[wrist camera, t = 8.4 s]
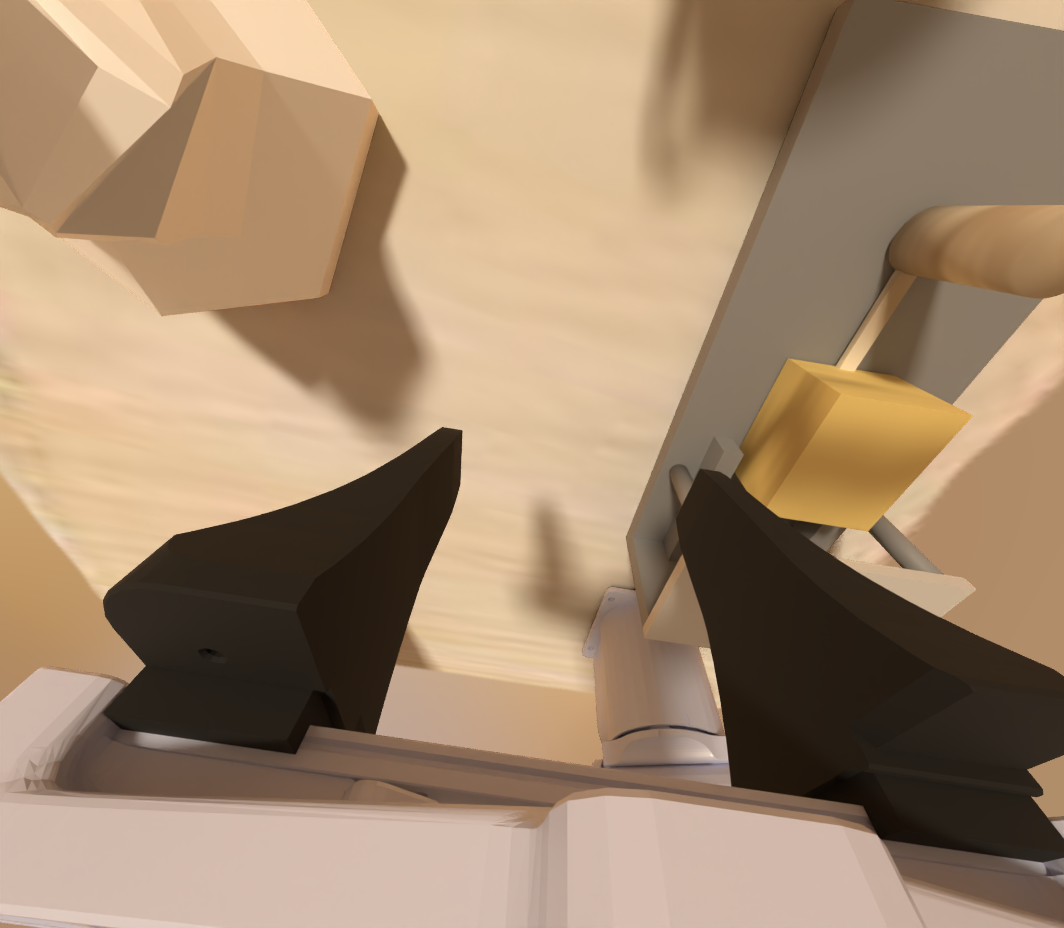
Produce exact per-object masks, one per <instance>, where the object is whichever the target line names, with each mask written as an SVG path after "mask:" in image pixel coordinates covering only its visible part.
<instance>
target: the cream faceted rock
mask: <svg viewBox="0 0 1064 928" xmlns="http://www.w3.org/2000/svg"><path fill="white" fill-rule="evenodd" d="M378 115H379V112H378V110H377V108H376V106H375V105H374V103H373V101H372V99H371V98H370V96H369V95H368V93H367V92H366V90H365V89H364V87H363V86H362V84H361V82H360V81H359V79H358V78H357V76H356V75H355V73H354V72H353V70H352V69H351V67H350V66H349V64H348V63H347V61H346V60H345V58H344V57H343V55H342V54H341V52H340V51H339V49H338V48H337V46H336V45H335V43H334V42H333V40H332V39H331V37H330V36H329V34H328V33H327V31H326V30H325V28H324V27H323V25H322V24H321V22H320V20H319V19H318V17H317V16H316V14H315V13H314V11H313V10H312V8H311V7H310V5H309V4H308V2H307V1H306V0H0V207H2V208H5V209H8V210H11V211H14V212H17V213H20V214H23V215H26V216H28V217H30V218H31V219H33V220H34V221H35V222H37V223H38V224H39V225H41V226H42V227H43V228H45V229H46V230H47V231H48V232H50V233H51V234H52V235H54V236H55V237H57V238H61V239H63V240H64V241H65V242H67V243H68V244H69V245H70V246H72V247H73V248H74V249H76V250H77V251H78V252H79V253H81V254H82V255H83V256H85V257H86V258H87V259H88V260H90V261H91V262H92V263H94V264H95V265H96V266H98V267H99V268H100V269H101V270H103V271H104V272H105V273H107V274H108V275H109V276H110V277H112V278H113V279H114V280H116V281H117V282H118V283H119V284H121V285H122V286H123V287H125V288H126V289H127V290H129V291H130V292H131V293H132V294H134V295H135V296H136V297H138V298H139V299H140V300H141V301H143V302H144V303H145V304H147V305H148V306H149V307H150V308H152V309H153V310H154V311H156V312H157V313H158V314H159V315H161V316H167V315H175V314H184V313H193V312H201V311H210V310H219V309H227V308H236V307H244V306H253V305H262V304H270V303H279V302H288V301H296V300H305V299H314V298H319V297H322V296H324V295H326V294H328V293H329V290H330V287H331V283H332V280H333V276H334V272H335V269H336V265H337V262H338V258H339V255H340V251H341V247H342V244H343V240H344V237H345V233H346V230H347V226H348V222H349V219H350V215H351V212H352V208H353V205H354V201H355V197H356V194H357V190H358V187H359V183H360V180H361V176H362V173H363V169H364V165H365V162H366V158H367V155H368V151H369V148H370V144H371V140H372V137H373V133H374V130H375V126H376V123H377V119H378Z"/></svg>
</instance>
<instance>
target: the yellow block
mask: <svg viewBox="0 0 1064 928" xmlns="http://www.w3.org/2000/svg"><path fill="white" fill-rule="evenodd" d="M889 262H890V264H891V266H892V268H893V269H894V270H895V271H894V273H893V275H892V276H891V278H890V279H889V281H888V283H887V284H886V286H885V287H884V289H883V291H882V292H881V294H880V295H879V297H878V299H877V300H876V302H875V304H874V305H873V307H872V308H871V310H870V312H869V313H868V315H867V316H866V318H865V320H864V321H863V323H862V324H861V326H860V328H859V329H858V331H857V332H856V334H855V336H854V337H853V339H852V341H851V342H850V344H849V345H848V347H847V349H846V350H845V352H844V353H843V355H842V357H841V358H840V360H839V361H838V363H837V365H836V366H832V365H826V364H820V363H814V362H808V361H801V360H795V359H789V358H788V359H787V361H786V363H785V365H784V366H783V368H782V370H781V372H780V374H779V376H778V378H777V379H776V381H775V383H774V385H773V387H772V389H771V391H770V392H769V394H768V396H767V398H766V400H765V402H764V404H763V405H762V407H761V409H760V411H759V413H758V415H757V417H756V418H755V420H754V422H753V424H752V426H751V428H750V430H749V431H748V433H747V435H746V437H745V439H744V441H743V442H742V444H741V446H740V450H741V451H742V453H743V454H744V456H743V457H742V459H741V461H740V463H739V465H738V466H737V468H736V470H735V473H736V475H737V477H738V478H739V480H740V481H741V483H742V484H743V486H744V488H745V489H746V491H747V492H748V493H750V494H751V495H752V496H753V497H755V498H756V499H757V500H758V501H760V502H761V503H762V504H763V505H765V506H766V507H767V508H768V509H770V510H771V511H772V512H773V513H775V514H776V515H777V516H778V517H780V518H787V519H793V520H799V521H806V522H812V523H818V524H825V525H831V526H837V527H844V528H850V529H856V530H863V531H869V530H870V529H871V528H872V526H873V525H874V524H875V523H876V522H877V521H878V520H879V519H880V518H881V517H882V515H883V514H884V513H885V512H886V511H887V510H888V509H889V508H890V507H891V506H892V504H893V503H894V502H895V501H896V500H897V499H898V498H899V497H900V496H901V495H902V493H903V492H904V491H905V490H906V489H907V488H908V487H909V486H910V485H911V484H912V482H913V481H914V480H915V479H916V478H917V477H918V476H919V475H920V474H921V473H922V471H923V470H924V469H925V468H926V467H927V466H928V465H929V464H930V463H931V462H932V460H933V459H934V458H935V457H936V456H937V455H938V454H939V453H940V452H941V451H942V449H943V448H944V447H945V446H946V445H947V444H948V443H949V442H950V441H951V440H952V438H953V437H954V436H955V435H956V434H957V433H958V432H959V431H960V430H961V428H962V427H963V426H964V425H965V424H966V423H967V422H968V421H969V420H970V419H971V417H972V416H973V415H971V414H969V413H967V412H965V411H963V410H961V409H959V408H957V407H955V406H953V405H951V404H949V403H947V402H945V401H943V400H941V399H939V398H937V397H935V396H933V395H931V394H929V393H927V392H926V391H924V390H922V389H920V388H918V387H916V386H914V385H912V384H910V383H908V382H906V381H904V380H902V379H900V378H898V377H896V376H893V375H887V374H880V373H874V372H868V371H862V370H856V368H857V367H858V365H859V364H860V362H861V361H862V359H863V358H864V356H865V355H866V353H867V352H868V350H869V349H870V347H871V346H872V344H873V343H874V341H875V340H876V338H877V336H878V335H879V333H880V332H881V330H882V329H883V327H884V326H885V324H886V323H887V321H888V320H889V318H890V317H891V315H892V314H893V312H894V311H895V309H896V308H897V306H898V304H899V303H900V301H901V300H902V298H903V297H904V295H905V294H906V292H907V291H908V289H909V288H910V286H911V285H912V283H913V282H914V280H915V279H916V277H917V276H920V277H925V278H930V279H936V280H941V281H946V282H951V283H956V284H962V285H967V286H972V287H977V288H982V289H987V290H993V291H998V292H1003V293H1008V294H1013V295H1019V296H1024V297H1029V298H1036V299H1042V298H1049V297H1053V296H1057V295H1060V294H1063V293H1064V205H991V206H935V207H931V208H928V209H925V210H923V211H921V212H919V213H918V214H916V215H915V216H913V217H912V218H911V219H909V220H908V221H907V222H906V223H905V224H904V225H903V226H902V227H901V228H900V230H899V231H898V232H897V234H896V235H895V237H894V239H893V241H892V243H891V246H890V249H889Z"/></svg>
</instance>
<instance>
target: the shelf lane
mask: <svg viewBox="0 0 1064 928" xmlns="http://www.w3.org/2000/svg"><path fill="white" fill-rule="evenodd" d="M991 205H1064V31H1062V30H1056V29H1051V28H1045V27H1040V26H1034V25H1029V24H1023V23H1017V22H1012V21H1006V20H1001V19H995V18H990V17H984V16H979V15H973V14H968V13H962V12H957V11H951V10H946V9H940V8H934V7H929V6H923V5H918V4H912V3H907V2H901V1H896V0H847V1H846V2H845V3H843V4H842V5H841V6H839V7H838V8H837V9H836V12H835V14H834V17H833V19H832V22H831V24H830V27H829V29H828V32H827V34H826V37H825V39H824V42H823V44H822V47H821V49H820V52H819V54H818V57H817V59H816V62H815V64H814V67H813V69H812V72H811V74H810V77H809V79H808V82H807V84H806V87H805V89H804V92H803V94H802V97H801V100H800V102H799V105H798V107H797V110H796V112H795V115H794V117H793V120H792V122H791V125H790V127H789V130H788V132H787V135H786V137H785V140H784V142H783V145H782V147H781V150H780V152H779V155H778V157H777V160H776V162H775V165H774V167H773V170H772V172H771V175H770V177H769V180H768V182H767V185H766V187H765V190H764V192H763V195H762V197H761V200H760V202H759V205H758V207H757V210H756V212H755V215H754V217H753V220H752V222H751V225H750V227H749V230H748V232H747V235H746V238H745V240H744V243H743V245H742V248H741V250H740V253H739V255H738V258H737V260H736V263H735V265H734V268H733V270H732V273H731V275H730V278H729V280H728V283H727V285H726V288H725V290H724V293H723V295H722V298H721V300H720V303H719V305H718V308H717V310H716V313H715V315H714V318H713V320H712V323H711V325H710V328H709V330H708V333H707V335H706V338H705V340H704V343H703V345H702V348H701V350H700V353H699V355H698V358H697V360H696V363H695V365H694V368H693V370H692V373H691V376H690V378H689V381H688V383H687V386H686V388H685V391H684V393H683V396H682V398H681V401H680V403H679V406H678V408H677V411H676V413H675V416H674V418H673V421H672V423H671V426H670V428H669V431H668V433H667V436H666V438H665V441H664V443H663V446H662V448H661V451H660V453H659V456H658V458H657V461H656V463H655V466H654V468H653V471H652V473H651V476H650V478H649V481H648V483H647V486H646V488H645V491H644V493H643V496H642V498H641V501H640V503H639V506H638V508H637V511H636V514H635V516H634V519H633V521H632V524H631V526H630V529H629V531H628V534H627V536H626V539H627V545H628V551H629V556H630V562H631V567H632V573H633V578H634V584H635V589H636V595H637V600H638V606H639V611H640V617H641V622H642V628H643V633H644V638H645V639H652V640H658V641H665V642H671V643H678V644H685V645H691V646H698V647H704V648H710V643H709V639H708V634H707V629H706V626H705V622H704V619H703V615H702V612H701V609H700V606H699V603H698V600H697V597H696V594H695V591H694V588H693V585H692V582H691V579H690V576H689V573H688V570H687V567H686V564H685V561H684V557H683V554H682V551H681V548H680V542H679V537H678V531H677V524H676V517H677V515H678V513H679V511H680V509H681V507H682V505H683V502H684V500H685V498H686V496H687V494H688V492H689V490H690V488H691V486H692V484H693V482H694V480H695V478H696V476H697V474H698V472H699V470H700V468H701V469H707V470H713V471H719V472H721V473H723V474H725V475H726V476H728V477H729V478H730V479H732V480H733V481H734V482H736V483H737V484H738V485H740V486H741V487H742V488H743V489H745V488H744V486H743V484H742V483H741V481H740V480H739V478H738V477H737V475H736V473H735V470H736V468H737V466H738V465H739V463H740V461H741V459H742V457H743V456H744V454H743V453H742V451H741V450H740V446H741V444H742V442H743V441H744V439H745V437H746V435H747V433H748V431H749V430H750V428H751V426H752V424H753V422H754V420H755V418H756V417H757V415H758V413H759V411H760V409H761V407H762V405H763V404H764V402H765V400H766V398H767V396H768V394H769V392H770V391H771V389H772V387H773V385H774V383H775V381H776V379H777V378H778V376H779V374H780V372H781V370H782V368H783V366H784V365H785V363H786V361H787V359H788V358H789V359H795V360H801V361H808V362H814V363H820V364H826V365H832V366H836V365H837V363H838V361H839V360H840V358H841V357H842V355H843V353H844V352H845V350H846V349H847V347H848V345H849V344H850V342H851V341H852V339H853V337H854V336H855V334H856V332H857V331H858V329H859V328H860V326H861V324H862V323H863V321H864V320H865V318H866V316H867V315H868V313H869V312H870V310H871V308H872V307H873V305H874V304H875V302H876V300H877V299H878V297H879V295H880V294H881V292H882V291H883V289H884V287H885V286H886V284H887V283H888V281H889V279H890V278H891V276H892V275H893V273H894V271H895V270H894V269H893V268H892V266H891V264H890V262H889V249H890V246H891V243H892V241H893V239H894V237H895V235H896V234H897V232H898V231H899V230H900V228H901V227H902V226H903V225H904V224H905V223H906V222H907V221H908V220H909V219H911V218H912V217H913V216H915V215H916V214H918V213H919V212H921V211H923V210H925V209H928V208H931V207H935V206H991ZM1042 299H1043V298H1042ZM1042 299H1036V298H1029V297H1024V296H1019V295H1013V294H1008V293H1003V292H998V291H993V290H987V289H982V288H977V287H972V286H967V285H962V284H956V283H951V282H946V281H941V280H936V279H930V278H925V277H920V276H917V277H916V279H915V280H914V282H913V283H912V285H911V286H910V288H909V289H908V291H907V292H906V294H905V295H904V297H903V298H902V300H901V301H900V303H899V304H898V306H897V308H896V309H895V311H894V312H893V314H892V315H891V317H890V318H889V320H888V321H887V323H886V324H885V326H884V327H883V329H882V330H881V332H880V333H879V335H878V336H877V338H876V340H875V341H874V343H873V344H872V346H871V347H870V349H869V350H868V352H867V353H866V355H865V356H864V358H863V359H862V361H861V362H860V364H859V365H858V367H857V368H856V370H862V371H868V372H874V373H880V374H887V375H893V376H896V377H898V378H900V379H902V380H904V381H906V382H908V383H910V384H912V385H914V386H916V387H918V388H920V389H922V390H924V391H926V392H927V393H929V394H931V395H933V396H935V397H937V398H939V399H941V400H943V401H945V402H947V403H949V404H951V405H952V404H953V403H954V402H955V401H956V400H957V399H958V397H959V396H960V395H961V394H962V393H963V392H964V390H965V389H966V388H967V387H968V386H969V385H970V383H971V382H972V381H973V380H974V379H975V377H976V376H977V375H978V374H979V373H980V372H981V370H982V369H983V368H984V367H985V366H986V365H987V363H988V362H989V361H990V360H991V359H992V358H993V356H994V355H995V354H996V353H997V352H998V351H999V349H1000V348H1001V347H1002V346H1003V345H1004V344H1005V342H1006V341H1007V340H1008V339H1009V338H1010V337H1011V335H1012V334H1013V333H1014V332H1015V331H1016V330H1017V328H1018V327H1019V326H1020V325H1021V324H1022V323H1023V321H1024V320H1025V319H1026V318H1027V317H1028V316H1029V314H1030V313H1031V312H1032V311H1033V310H1034V309H1035V307H1036V306H1037V305H1038V304H1039V303H1040V302H1041V300H1042ZM745 490H746V489H745ZM781 519H782V520H783V521H785V522H786V523H787V524H789V525H790V526H791V527H793V528H794V529H795V530H797V531H798V532H799V533H801V534H802V535H803V536H805V537H806V538H808V539H809V540H810V541H812V542H813V543H814V544H816V545H817V546H819V547H820V548H822V549H823V550H825V551H827V550H828V549H829V548H830V547H831V546H832V544H833V543H834V542H835V541H836V540H837V539H838V537H839V536H840V535H841V534H842V533H843V532H844V530H845V529H846V528H844V527H837V526H831V525H825V524H818V523H812V522H806V521H799V520H793V519H787V518H781ZM868 532H869V533H870V534H871V535H872V536H873V537H874V538H875V539H876V540H877V541H878V542H879V543H880V544H881V545H882V547H883V548H884V549H885V550H886V551H887V552H888V553H889V554H890V555H891V556H892V557H893V558H894V559H895V560H896V562H897V563H898V564H899V565H900V566H901V567H902V568H897V567H891V566H885V565H878V564H872V563H865V562H859V561H853V560H846V559H840V558H837V559H838V560H840V561H841V562H843V563H844V564H846V565H848V566H849V567H851V568H852V569H854V570H855V571H857V572H859V573H860V574H862V575H864V576H865V577H867V578H869V579H870V580H872V581H874V582H875V583H877V584H879V585H881V586H883V587H884V588H886V589H888V590H890V591H891V592H893V593H895V594H897V595H899V596H900V597H902V598H904V599H906V600H908V601H909V602H911V603H913V604H915V605H917V606H919V607H921V608H923V609H925V610H927V611H929V612H930V613H932V614H934V615H936V616H938V617H941V616H943V615H944V614H945V613H947V612H948V611H949V610H950V609H952V608H953V607H954V606H956V605H957V604H958V603H960V602H961V601H962V600H963V599H965V598H966V597H967V596H969V595H970V594H971V593H972V592H974V591H975V590H976V589H975V588H974V587H973V586H972V585H971V584H970V583H969V582H968V581H967V580H965V578H961V577H955V576H948V575H944V574H943V573H942V572H941V571H940V570H939V569H938V568H937V567H936V566H935V565H934V564H933V563H932V562H930V560H929V559H928V558H927V557H926V556H925V555H924V554H923V553H921V552H920V551H919V550H918V549H917V548H916V547H915V546H914V545H913V544H912V543H911V542H910V541H909V540H908V539H907V538H906V537H905V536H904V535H903V534H902V533H901V532H900V531H899V530H898V529H897V528H896V527H895V526H894V525H893V524H892V523H891V522H889V521H888V520H887V519H886V518H885V517H884V516H883V515H882V517H881V518H880V519H879V520H878V521H877V522H876V523H875V524H874V525H873V526H872V528H871V529H870V530H869V531H868Z"/></svg>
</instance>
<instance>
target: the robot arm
mask: <svg viewBox="0 0 1064 928" xmlns="http://www.w3.org/2000/svg"><path fill="white" fill-rule="evenodd" d="M461 454H462V430H457V429H451V428H444V427H442V428H440V429H438V430H437V431H436V432H434V433H433V434H431V435H430V436H428V437H427V438H425V439H424V440H422V441H421V442H420V443H418V444H417V445H415V446H414V447H412V448H411V449H409V450H408V451H406V452H405V453H403V454H401V455H400V456H398V457H397V458H395V459H393V460H391V461H390V462H388V463H386V464H385V465H383V466H381V467H379V468H378V469H376V470H374V471H372V472H370V473H369V474H367V475H365V476H363V477H361V478H359V479H357V480H354V481H352V482H350V483H348V484H346V485H344V486H341V487H339V488H337V489H334V490H332V491H329V492H327V493H324V494H321V495H319V496H316V497H313V498H311V499H308V500H305V501H303V502H300V503H297V504H294V505H291V506H288V507H285V508H282V509H279V510H275V511H272V512H269V513H265V514H262V515H258V516H254V517H251V518H247V519H243V520H239V521H236V522H231V523H227V524H222V525H218V526H214V527H209V528H205V529H200V530H196V531H191V532H187V533H182V534H177V535H174V536H173V537H172V538H171V539H170V540H168V541H167V542H166V543H165V544H163V545H162V546H161V547H160V548H159V549H157V550H156V551H155V552H154V553H153V554H151V555H150V556H149V557H148V558H147V559H145V560H144V561H143V562H142V563H141V564H140V565H138V566H137V567H136V568H135V569H134V570H132V571H131V572H130V573H129V574H128V575H126V576H125V577H124V578H123V579H122V580H120V581H119V582H118V583H117V584H116V585H114V586H113V587H112V588H111V589H110V590H108V592H107V594H106V595H105V597H104V599H103V605H104V611H105V617H106V618H107V619H108V621H109V622H110V624H111V625H112V627H113V628H114V630H115V631H116V632H117V633H118V634H119V635H120V636H121V638H122V639H123V640H124V641H125V642H126V643H127V644H128V646H129V647H130V648H131V649H132V650H133V651H134V652H135V654H136V655H137V656H138V657H139V658H140V659H141V660H142V662H143V663H144V664H145V665H146V666H145V668H144V669H143V670H142V671H141V672H140V673H139V674H138V675H137V676H136V677H135V678H134V679H133V681H132V682H131V683H130V684H129V683H127V682H126V681H124V680H121V679H119V678H117V677H113V676H109V675H105V674H99V673H92V672H86V671H79V670H72V669H65V668H58V667H51V666H47V667H42V668H39V669H38V670H36V671H35V672H34V673H33V674H32V675H31V676H30V677H28V678H27V679H26V680H25V681H24V682H23V683H21V684H20V685H19V686H18V687H17V688H16V689H15V690H14V691H12V692H11V693H10V694H9V695H8V696H7V697H5V698H4V699H3V700H2V701H1V702H0V922H3V923H10V924H17V925H24V926H31V927H39V928H1064V816H1061V817H1049V818H1047V816H1046V815H1045V814H1044V813H1043V811H1042V810H1041V809H1040V808H1039V806H1038V805H1037V804H1036V802H1035V801H1034V800H1033V799H1032V797H1039V796H1042V795H1043V789H1042V788H1041V786H1040V785H1039V784H1038V783H1037V781H1036V780H1035V779H1034V778H1033V777H1032V775H1031V774H1030V773H1029V772H1028V770H1027V769H1029V768H1032V767H1035V766H1037V765H1040V764H1042V763H1045V762H1047V761H1050V760H1052V759H1055V758H1057V757H1060V756H1062V755H1064V676H1062V675H1061V674H1060V673H1058V672H1057V671H1055V670H1054V669H1052V668H1049V667H1047V666H1045V665H1042V664H1040V663H1038V662H1036V661H1034V660H1031V659H1029V658H1027V657H1024V656H1022V655H1020V654H1018V653H1016V652H1013V651H1011V650H1009V649H1007V648H1004V647H1002V646H1000V645H997V644H995V643H993V642H991V641H988V640H986V639H984V638H982V637H979V636H977V635H975V634H973V633H970V632H969V631H967V630H965V629H963V628H961V627H959V626H957V625H955V624H952V623H951V622H949V621H947V620H944V619H942V618H940V617H938V616H936V615H934V614H932V613H930V612H929V611H927V610H925V609H923V608H921V607H919V606H917V605H915V604H913V603H911V602H909V601H908V600H906V599H904V598H902V597H900V596H899V595H897V594H895V593H893V592H891V591H890V590H888V589H886V588H884V587H883V586H881V585H879V584H877V583H875V582H874V581H872V580H870V579H869V578H867V577H865V576H864V575H862V574H860V573H859V572H857V571H855V570H854V569H852V568H851V567H849V566H848V565H846V564H844V563H843V562H841V561H840V560H838V559H837V558H835V557H834V556H832V555H830V554H829V553H827V552H826V551H825V550H823V549H822V548H820V547H819V546H817V545H816V544H814V543H813V542H812V541H810V540H809V539H808V538H806V537H805V536H803V535H802V534H801V533H799V532H798V531H797V530H795V529H794V528H793V527H791V526H790V525H789V524H787V523H786V522H785V521H783V520H782V519H781V518H780V517H778V516H777V515H776V514H775V513H773V512H772V511H771V510H770V509H768V508H767V507H766V506H765V505H763V504H762V503H761V502H760V501H758V500H757V499H756V498H755V497H753V496H752V495H751V494H750V493H748V492H747V491H746V490H745V489H743V488H742V487H741V486H740V485H738V484H737V483H736V482H734V481H733V480H732V479H730V478H729V477H728V476H726V475H725V474H723V473H721V472H719V471H713V470H707V469H701V468H700V470H699V472H698V474H697V476H696V478H695V480H694V482H693V484H692V486H691V488H690V490H689V492H688V494H687V496H686V498H685V500H684V502H683V505H682V507H681V509H680V511H679V513H678V515H677V517H676V524H677V531H678V537H679V542H680V548H681V551H682V554H683V557H684V561H685V564H686V567H687V570H688V573H689V576H690V579H691V582H692V585H693V588H694V591H695V594H696V597H697V600H698V603H699V606H700V609H701V612H702V615H703V619H704V622H705V626H706V629H707V634H708V639H709V643H710V648H711V653H712V657H713V662H714V668H715V673H716V679H717V684H718V690H719V695H720V701H721V708H722V715H723V722H724V729H725V733H724V730H723V727H722V723H721V720H720V717H719V713H718V710H717V706H716V703H715V700H714V697H713V693H712V690H711V687H710V683H709V680H708V677H707V673H706V670H705V667H704V663H703V660H702V657H701V653H700V650H699V647H698V646H691V645H685V644H678V643H671V642H665V641H658V640H652V639H645V638H644V633H643V628H642V622H641V617H640V611H639V606H638V600H637V595H636V590H630V589H623V588H617V587H610V588H608V589H607V590H606V592H605V595H604V597H603V600H602V602H601V605H600V607H599V610H598V612H597V615H596V617H595V620H594V622H593V625H592V627H591V630H590V632H589V635H588V637H587V640H586V642H585V644H584V647H583V649H582V655H583V656H585V657H588V658H593V661H594V678H595V695H596V712H597V727H598V733H599V737H600V740H601V743H602V751H603V759H601V760H595V761H594V762H593V764H592V766H586V765H580V764H572V763H566V762H559V761H552V760H545V759H539V758H532V757H525V756H518V755H511V754H505V753H498V752H490V751H484V750H476V749H470V748H463V747H457V746H450V745H442V744H436V743H429V742H422V741H416V740H408V739H402V738H395V737H388V736H381V735H375V734H376V730H377V726H378V723H379V719H380V716H381V712H382V708H383V704H384V701H385V697H386V694H387V691H388V687H389V684H390V680H391V677H392V674H393V670H394V667H395V663H396V660H397V657H398V653H399V650H400V647H401V644H402V640H403V637H404V634H405V631H406V628H407V624H408V621H409V618H410V615H411V612H412V609H413V606H414V603H415V600H416V596H417V593H418V590H419V587H420V584H421V582H422V579H423V577H424V574H425V572H426V570H427V567H428V565H429V563H430V561H431V558H432V556H433V554H434V552H435V550H436V547H437V545H438V543H439V541H440V538H441V536H442V534H443V532H444V530H445V527H446V525H447V523H448V520H449V518H450V516H451V514H452V511H453V508H454V504H455V501H456V498H457V494H458V491H459V487H460V480H461ZM1031 796H1032V797H1031Z"/></svg>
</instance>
